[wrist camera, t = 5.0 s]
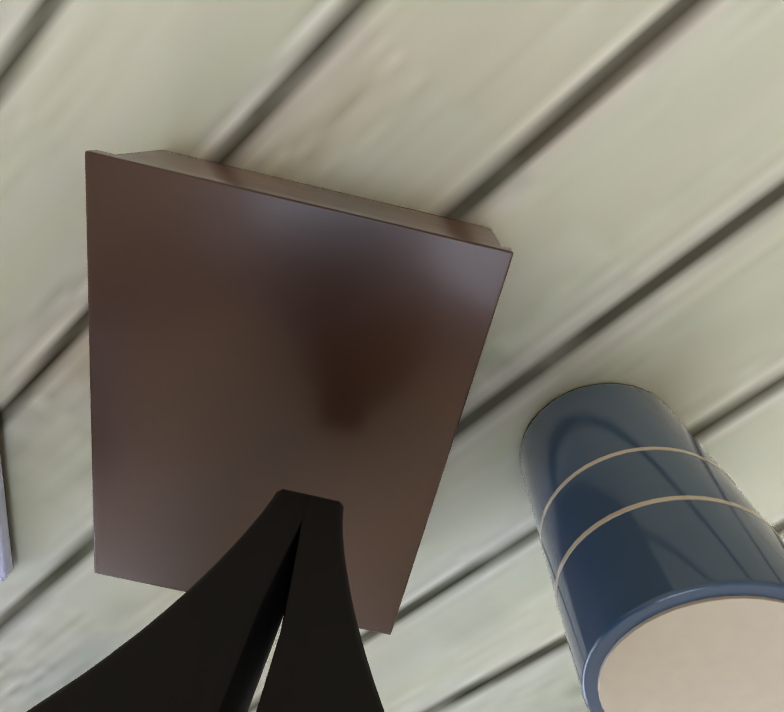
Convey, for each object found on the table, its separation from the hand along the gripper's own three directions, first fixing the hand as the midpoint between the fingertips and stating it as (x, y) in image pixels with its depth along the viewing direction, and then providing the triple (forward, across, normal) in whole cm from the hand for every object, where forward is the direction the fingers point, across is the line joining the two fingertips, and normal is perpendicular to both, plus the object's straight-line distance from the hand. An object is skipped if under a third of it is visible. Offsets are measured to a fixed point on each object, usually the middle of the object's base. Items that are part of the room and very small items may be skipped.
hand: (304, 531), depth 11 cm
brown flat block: (+6, +2, 0) cm, 6 cm away
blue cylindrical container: (+5, -5, 0) cm, 8 cm away
